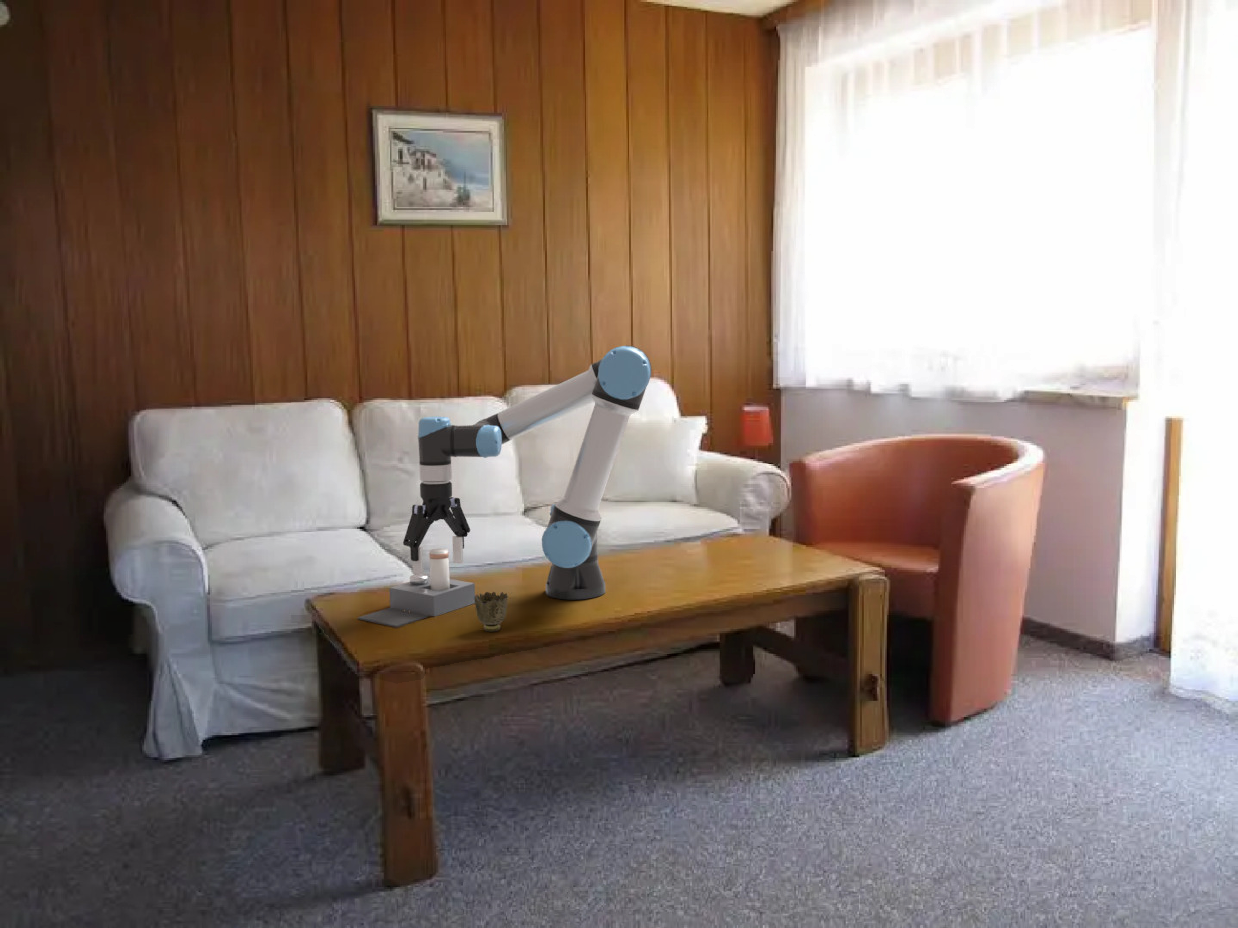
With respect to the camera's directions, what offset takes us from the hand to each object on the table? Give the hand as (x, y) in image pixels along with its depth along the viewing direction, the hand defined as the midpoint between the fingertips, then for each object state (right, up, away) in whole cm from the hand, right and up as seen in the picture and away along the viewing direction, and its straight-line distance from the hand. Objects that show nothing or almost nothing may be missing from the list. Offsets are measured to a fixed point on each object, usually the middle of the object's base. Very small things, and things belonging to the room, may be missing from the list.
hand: (438, 568), depth 255 cm
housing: (-2, -9, +3) cm, 10 cm away
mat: (-9, -11, -8) cm, 16 cm away
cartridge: (0, -10, +1) cm, 10 cm away
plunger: (-6, -8, +5) cm, 11 cm away
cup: (+15, -12, -19) cm, 27 cm away
